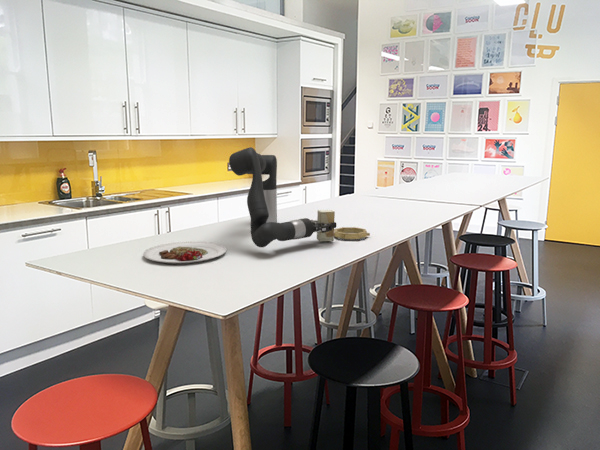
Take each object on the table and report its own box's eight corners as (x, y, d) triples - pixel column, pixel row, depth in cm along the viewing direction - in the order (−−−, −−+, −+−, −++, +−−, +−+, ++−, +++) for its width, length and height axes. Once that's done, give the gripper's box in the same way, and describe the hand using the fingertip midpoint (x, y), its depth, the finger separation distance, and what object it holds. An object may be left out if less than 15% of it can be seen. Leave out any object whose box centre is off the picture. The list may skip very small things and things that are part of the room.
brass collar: (332, 239, 209) (332, 233, 208) (330, 232, 222) (330, 227, 221) (371, 238, 209) (371, 233, 208) (367, 232, 222) (367, 227, 221)
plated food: (192, 242, 208) (191, 234, 208) (243, 254, 190) (242, 245, 189) (127, 257, 186) (126, 248, 185) (177, 271, 167) (177, 262, 166)
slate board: (338, 240, 210) (338, 238, 210) (336, 234, 221) (336, 232, 220) (364, 240, 210) (364, 238, 210) (361, 234, 221) (361, 232, 221)
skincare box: (319, 241, 204) (319, 211, 201) (316, 239, 208) (316, 210, 205) (334, 240, 205) (335, 211, 203) (331, 238, 209) (331, 209, 207)
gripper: (311, 222, 190) (342, 217, 201) (287, 216, 201) (318, 212, 211) (311, 241, 192) (342, 235, 202) (287, 235, 202) (318, 229, 213)
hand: (329, 223), depth 207 cm, fingers closed on skincare box, 6 cm apart
